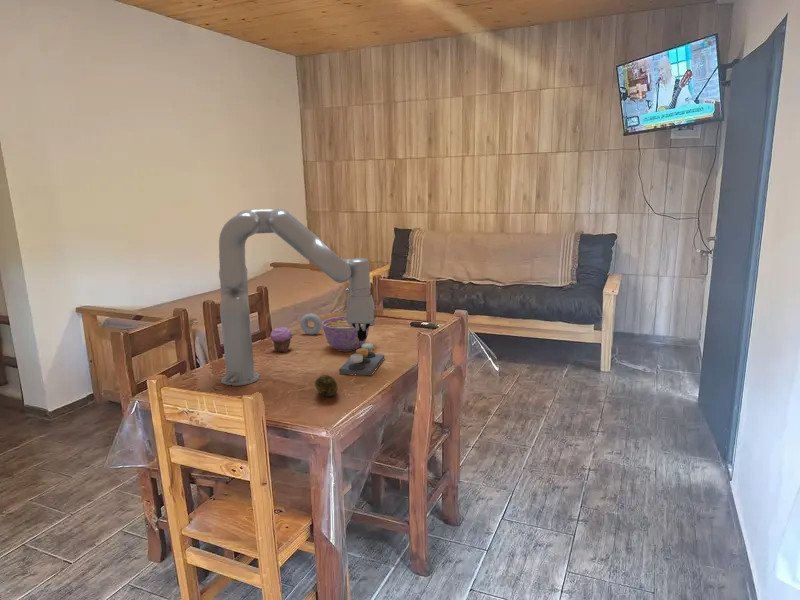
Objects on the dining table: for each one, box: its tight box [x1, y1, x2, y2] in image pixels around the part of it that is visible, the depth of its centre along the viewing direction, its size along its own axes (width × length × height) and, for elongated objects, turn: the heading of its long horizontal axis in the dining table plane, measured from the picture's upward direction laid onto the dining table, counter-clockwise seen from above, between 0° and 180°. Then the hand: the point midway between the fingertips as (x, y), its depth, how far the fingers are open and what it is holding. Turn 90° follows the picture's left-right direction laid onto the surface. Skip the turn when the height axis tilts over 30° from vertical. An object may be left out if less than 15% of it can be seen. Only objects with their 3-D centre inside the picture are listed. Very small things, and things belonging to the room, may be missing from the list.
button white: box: [350, 353, 363, 363], centre depth 204 cm, size 4×4×2 cm
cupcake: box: [269, 326, 293, 353], centre depth 233 cm, size 9×9×10 cm
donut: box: [299, 312, 323, 336], centre depth 256 cm, size 10×3×10 cm, turn 85°
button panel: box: [338, 351, 385, 376], centre depth 212 cm, size 20×12×3 cm, turn 167°
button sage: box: [361, 342, 374, 352], centre depth 217 cm, size 4×4×2 cm
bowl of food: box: [321, 315, 370, 352], centre depth 233 cm, size 20×20×12 cm
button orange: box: [355, 347, 369, 357], centre depth 211 cm, size 4×4×2 cm
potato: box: [314, 374, 339, 397], centre depth 183 cm, size 8×13×8 cm, turn 172°
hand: (362, 340), depth 210 cm, fingers closed
